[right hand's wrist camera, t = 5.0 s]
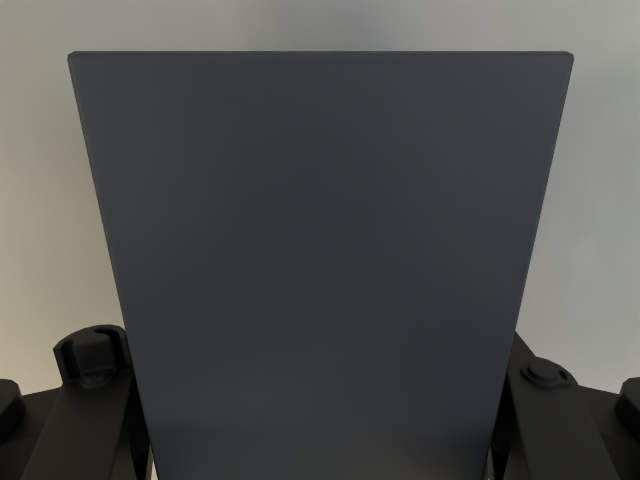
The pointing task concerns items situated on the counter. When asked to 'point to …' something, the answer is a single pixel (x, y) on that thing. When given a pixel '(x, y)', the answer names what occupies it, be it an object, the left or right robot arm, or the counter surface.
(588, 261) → the counter surface
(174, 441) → the bar
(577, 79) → the counter surface
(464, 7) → the counter surface
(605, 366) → the counter surface
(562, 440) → the right robot arm
